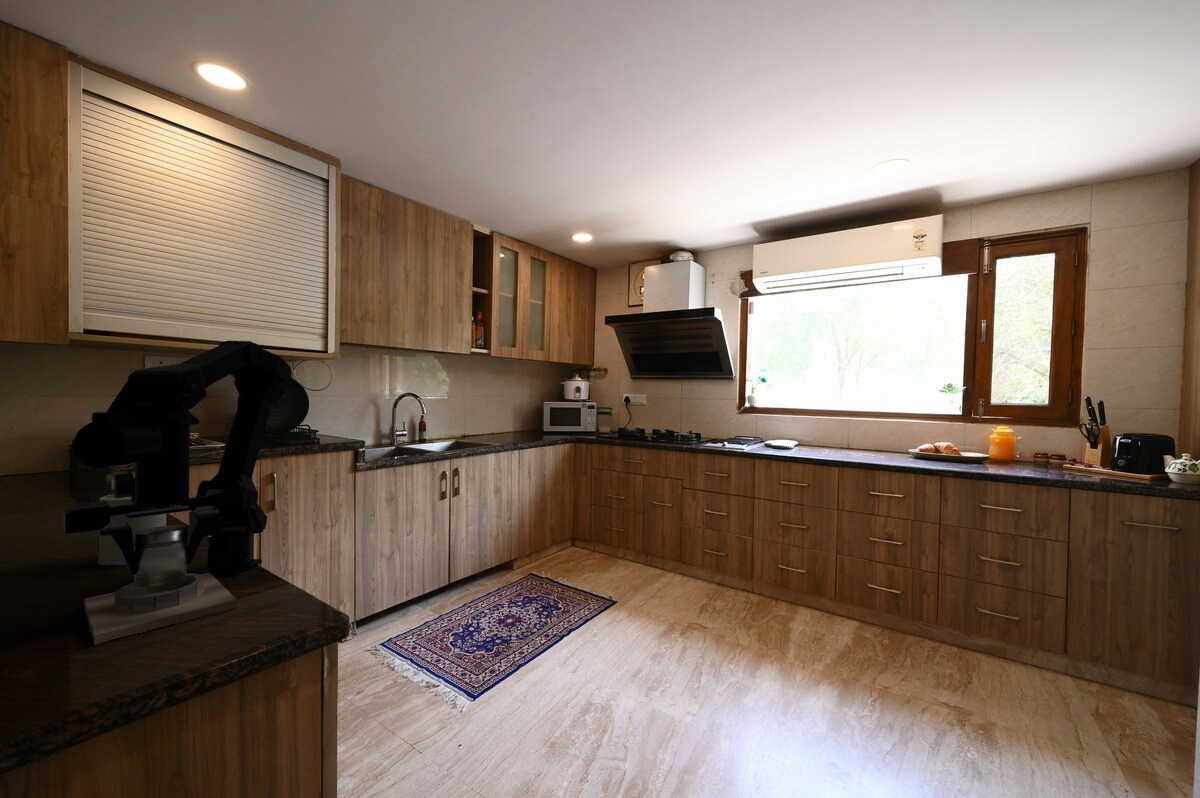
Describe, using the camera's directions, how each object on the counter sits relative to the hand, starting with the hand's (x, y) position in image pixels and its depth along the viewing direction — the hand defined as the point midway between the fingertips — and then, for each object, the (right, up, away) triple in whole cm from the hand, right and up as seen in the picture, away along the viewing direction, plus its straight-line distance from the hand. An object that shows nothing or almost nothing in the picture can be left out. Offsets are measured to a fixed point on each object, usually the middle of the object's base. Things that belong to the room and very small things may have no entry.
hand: (161, 568), depth 68 cm
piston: (0, -2, 0) cm, 2 cm away
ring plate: (0, -6, 0) cm, 6 cm away
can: (-24, -5, +21) cm, 32 cm away
